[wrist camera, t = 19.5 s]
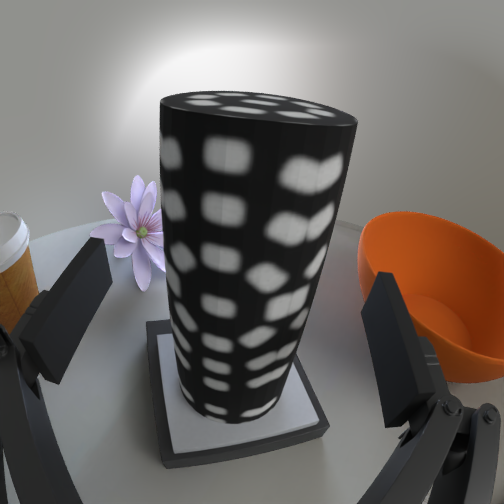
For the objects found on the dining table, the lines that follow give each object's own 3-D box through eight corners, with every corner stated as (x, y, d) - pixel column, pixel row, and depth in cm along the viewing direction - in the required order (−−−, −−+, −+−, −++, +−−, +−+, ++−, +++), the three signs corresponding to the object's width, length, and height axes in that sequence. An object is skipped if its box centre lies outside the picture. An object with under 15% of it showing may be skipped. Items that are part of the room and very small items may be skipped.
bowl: (501, 315, 36) (532, 264, 31) (491, 452, 19) (557, 398, 13) (372, 250, 47) (390, 193, 42) (294, 354, 30) (318, 277, 24)
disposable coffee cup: (-6, 303, 29) (-39, 221, 22) (56, 288, 33) (31, 201, 26) (-12, 362, 22) (-64, 274, 15) (60, 346, 27) (19, 250, 20)
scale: (149, 337, 30) (144, 315, 28) (271, 321, 33) (275, 300, 32) (166, 469, 19) (160, 458, 17) (322, 436, 23) (333, 421, 21)
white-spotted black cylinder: (162, 403, 21) (117, 109, 9) (200, 328, 28) (205, 87, 16) (271, 436, 20) (367, 142, 8) (291, 352, 26) (352, 109, 15)
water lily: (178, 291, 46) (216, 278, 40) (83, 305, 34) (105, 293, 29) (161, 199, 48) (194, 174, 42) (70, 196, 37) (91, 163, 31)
